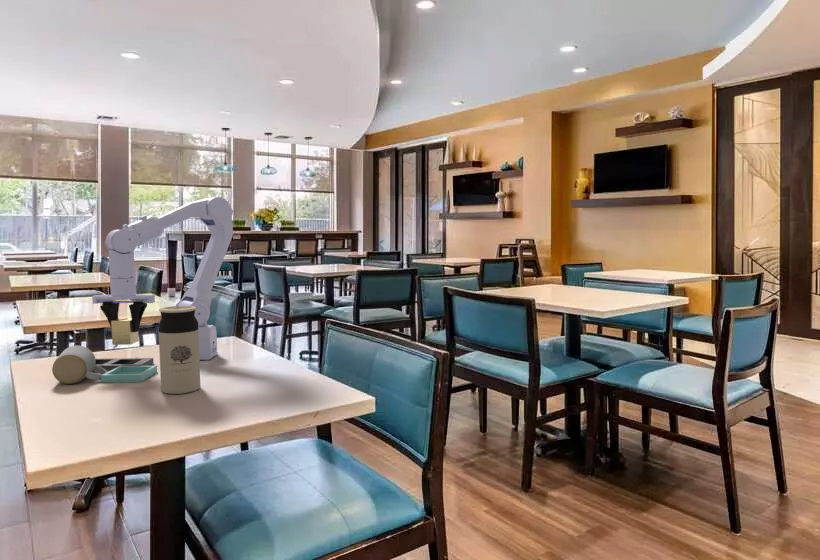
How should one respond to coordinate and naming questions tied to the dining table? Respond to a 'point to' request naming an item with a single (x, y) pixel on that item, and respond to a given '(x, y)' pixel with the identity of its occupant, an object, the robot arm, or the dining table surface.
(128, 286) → the robot arm
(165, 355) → the travel mug
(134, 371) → the tray
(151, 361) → the grey flat frame
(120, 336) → the block
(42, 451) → the dining table surface
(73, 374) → the ceramic mug
